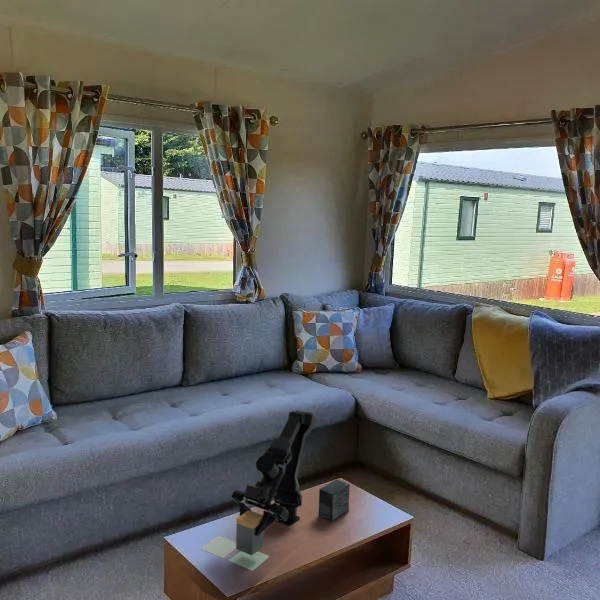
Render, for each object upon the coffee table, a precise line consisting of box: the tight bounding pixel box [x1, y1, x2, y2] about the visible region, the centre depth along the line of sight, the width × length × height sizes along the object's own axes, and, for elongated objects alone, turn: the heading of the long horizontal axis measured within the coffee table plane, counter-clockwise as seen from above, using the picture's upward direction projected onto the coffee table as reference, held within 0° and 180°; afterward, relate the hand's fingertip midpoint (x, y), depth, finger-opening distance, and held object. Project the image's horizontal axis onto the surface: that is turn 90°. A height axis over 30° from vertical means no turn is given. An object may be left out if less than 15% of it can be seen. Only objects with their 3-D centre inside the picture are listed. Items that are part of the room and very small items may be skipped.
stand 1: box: [200, 535, 237, 559], centre depth 185 cm, size 9×9×1 cm
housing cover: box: [236, 510, 263, 529], centre depth 178 cm, size 6×6×3 cm
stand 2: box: [228, 550, 270, 572], centre depth 179 cm, size 9×9×1 cm
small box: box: [318, 479, 350, 523], centre depth 209 cm, size 11×6×10 cm, turn 141°
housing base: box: [235, 522, 265, 555], centre depth 178 cm, size 6×6×8 cm
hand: (247, 532), depth 177 cm, fingers closed on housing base, 6 cm apart
